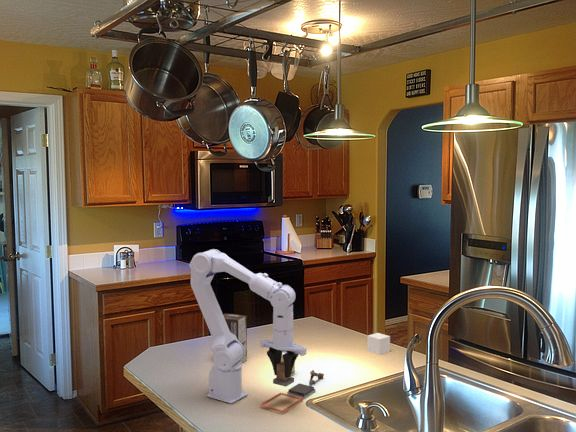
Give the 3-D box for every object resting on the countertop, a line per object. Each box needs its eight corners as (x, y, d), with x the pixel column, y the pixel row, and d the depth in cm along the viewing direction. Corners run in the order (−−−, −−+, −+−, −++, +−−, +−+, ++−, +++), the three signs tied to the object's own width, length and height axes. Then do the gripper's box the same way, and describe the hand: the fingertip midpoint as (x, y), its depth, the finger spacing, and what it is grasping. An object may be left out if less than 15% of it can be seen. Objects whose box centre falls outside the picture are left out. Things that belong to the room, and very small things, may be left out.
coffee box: (247, 360, 193) (247, 315, 192) (238, 365, 188) (238, 319, 186) (225, 356, 197) (225, 312, 196) (216, 361, 191) (216, 316, 190)
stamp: (273, 383, 156) (273, 364, 155) (281, 378, 159) (281, 360, 159) (285, 386, 153) (286, 367, 153) (294, 381, 157) (294, 362, 157)
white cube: (377, 348, 208) (377, 332, 208) (389, 351, 204) (390, 336, 203) (367, 351, 204) (367, 335, 204) (379, 355, 200) (379, 339, 199)
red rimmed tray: (259, 407, 154) (259, 404, 154) (280, 394, 163) (280, 392, 163) (283, 414, 149) (283, 411, 149) (303, 401, 158) (303, 398, 158)
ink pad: (287, 394, 163) (287, 389, 163) (298, 387, 168) (298, 382, 168) (304, 399, 160) (304, 394, 160) (315, 391, 165) (315, 386, 165)
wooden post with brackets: (306, 384, 169) (308, 369, 171) (316, 386, 176) (319, 372, 177) (311, 385, 168) (314, 370, 170) (321, 387, 175) (324, 373, 176)
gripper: (312, 329, 154) (311, 376, 155) (269, 322, 162) (269, 366, 163) (299, 335, 148) (298, 384, 149) (256, 327, 156) (255, 373, 157)
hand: (282, 375), depth 156 cm, fingers closed on stamp, 3 cm apart
